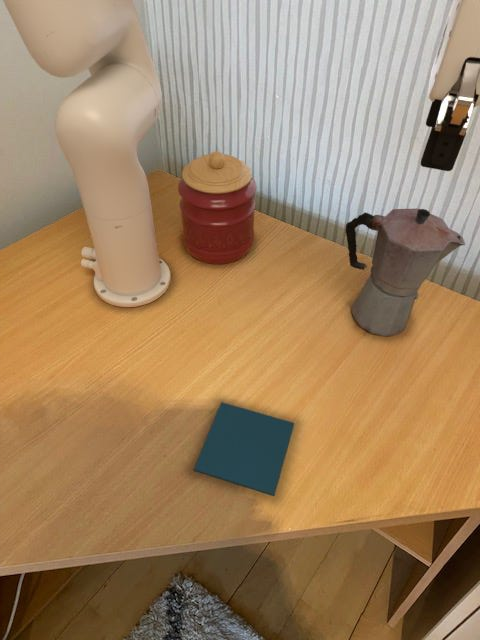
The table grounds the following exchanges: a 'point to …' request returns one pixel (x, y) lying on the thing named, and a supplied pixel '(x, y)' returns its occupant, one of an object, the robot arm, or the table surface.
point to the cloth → (245, 448)
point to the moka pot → (397, 265)
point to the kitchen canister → (217, 208)
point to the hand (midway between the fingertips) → (437, 146)
